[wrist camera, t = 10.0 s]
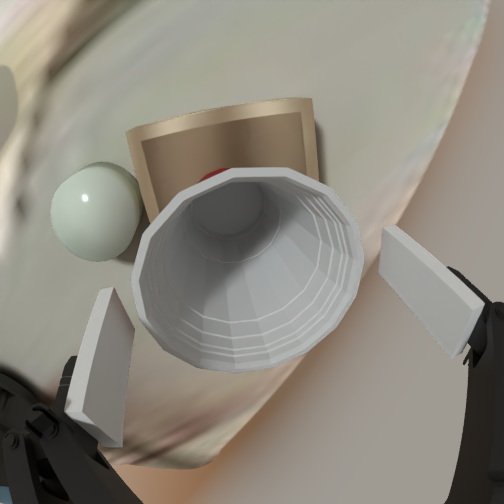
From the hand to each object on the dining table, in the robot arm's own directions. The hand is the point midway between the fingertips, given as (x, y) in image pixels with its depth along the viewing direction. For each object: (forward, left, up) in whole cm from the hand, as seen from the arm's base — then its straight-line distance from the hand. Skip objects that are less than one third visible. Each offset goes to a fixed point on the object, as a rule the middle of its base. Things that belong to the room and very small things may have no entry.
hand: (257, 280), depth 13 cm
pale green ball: (-12, +1, -15) cm, 19 cm away
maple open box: (0, 0, -15) cm, 15 cm away
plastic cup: (0, 0, -11) cm, 11 cm away
